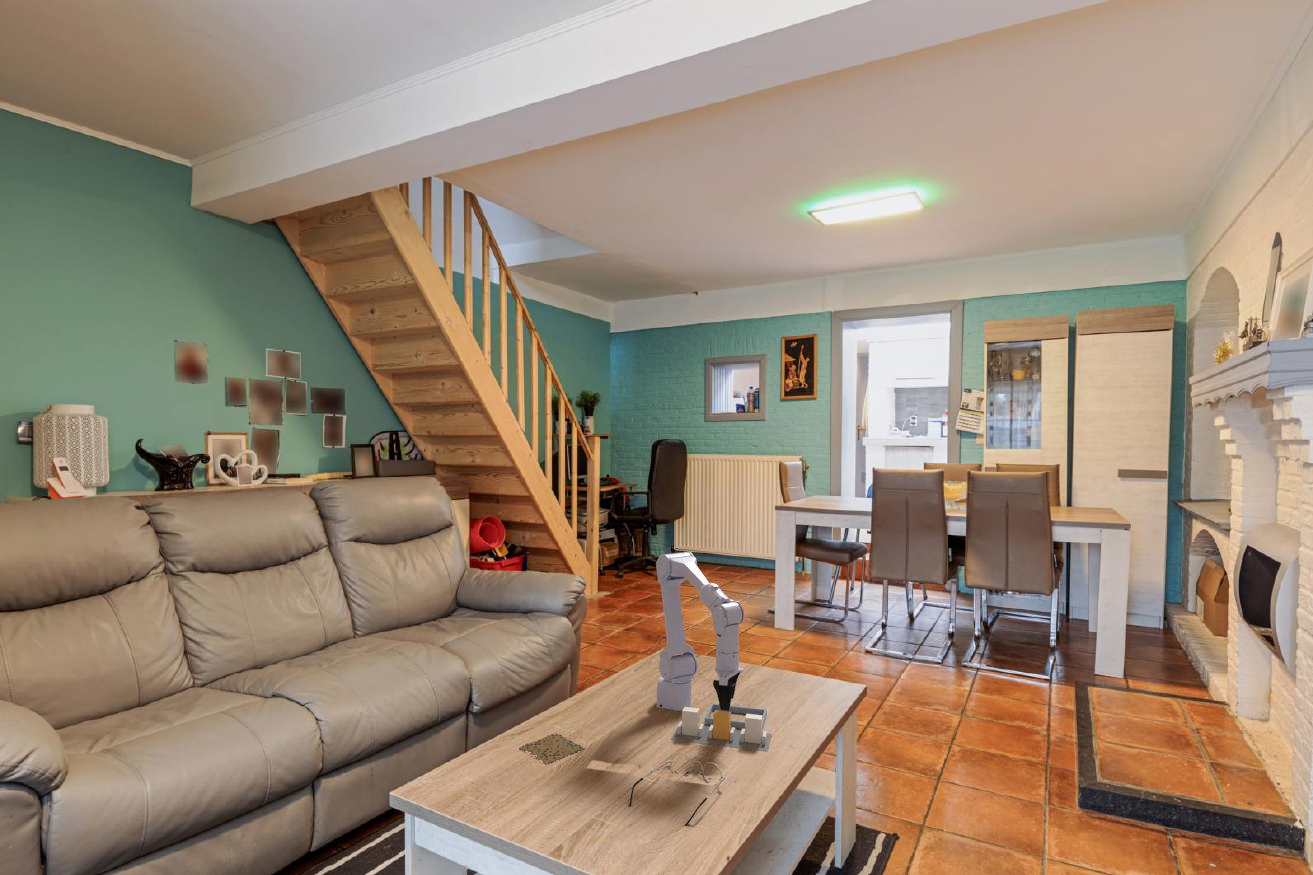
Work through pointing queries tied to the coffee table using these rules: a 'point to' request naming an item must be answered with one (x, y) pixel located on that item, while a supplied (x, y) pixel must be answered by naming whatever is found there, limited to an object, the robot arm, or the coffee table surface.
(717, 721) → the orange fuse
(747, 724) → the block
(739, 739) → the panel
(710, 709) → the tray
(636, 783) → the eyeglasses
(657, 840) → the coffee table surface
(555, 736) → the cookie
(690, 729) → the block
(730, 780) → the coffee table surface
